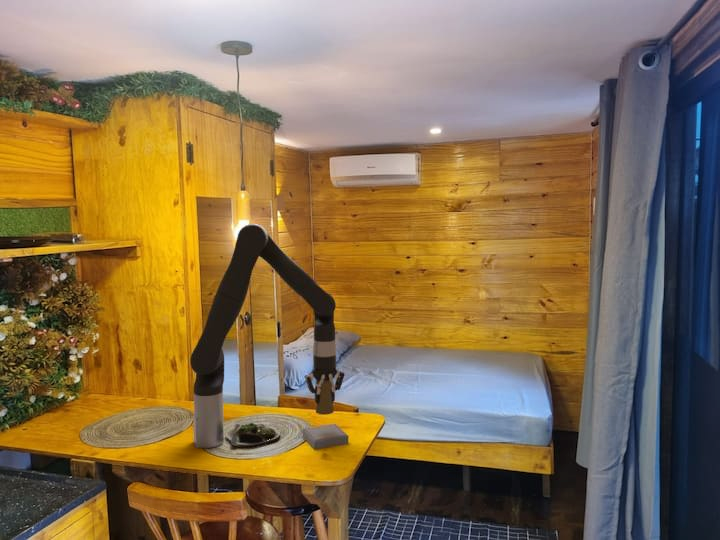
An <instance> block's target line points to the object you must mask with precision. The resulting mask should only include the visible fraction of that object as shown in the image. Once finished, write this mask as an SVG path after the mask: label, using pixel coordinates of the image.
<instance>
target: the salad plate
mask: <svg viewBox="0 0 720 540" xmlns="http://www.w3.org/2000/svg"><path fill="white" fill-rule="evenodd" d="M257 430H260V431H257ZM225 437H226V439H227V440H228V441H229V442H230V444H231V445H232V446H235V447H237V448H240V447H241V449H253V448H252V447H255V448H259V447H258V446H260V447H263V446H262V445H264V446H266V445H265V444H268V445H270V444H269V443H271V444H273V443H276V442H277V441H278V440H279V439H280V438H281V432H280V431H278V430H277V429H275V428H273V427H272V426H271V425H269V424H265V423H256V424H255V423H254V422H250V423H246V424H245V423H244V422H243V423H242V424H240V423H236V424H234V427H233V429H230V430H228V431H227V432H226V433H225ZM269 439H270V440H269ZM267 440H269V441H267ZM275 441H276V442H275Z"/></svg>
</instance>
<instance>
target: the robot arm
mask: <svg viewBox="0 0 720 540" xmlns="http://www.w3.org/2000/svg"><path fill="white" fill-rule="evenodd" d="M259 258H261V259H262V260H263V261H264V262H266V263H267V264H269V266H270V267H271V268H272V269H274V271H275V272H276V273H277V275H278V276H279V277H280V278H281V279H282V281H284V283H285V284H287V286H289V287H290V288H291V289H292V291H294V293H296V294H297V295H299V297H301V298H303V300H304V301H305V302H306V303H307V305H308V306H310V307H311V309H313V319H314V325H313V326H314V327H313V346H312V349H313V350H312V356H313V361H312V363H313V364H312V365H313V370H312V372H311V373H310V374H309V375H308V374H305V375H304V379H305V382H306V385H307V389H308V391H310V393H312V394H314V403H315V404H316V405H317V404H318V405H319V401H320V391H321V390H320V387H321V384H322V382H323V381H324V380H329V381H330V382H331V383H332V388H331V396H332V403H333V404H334V402H335V400H336V399H335V398H336V394H335V393H336V392H337V391H340V390H341V388H342V385H343V381H344V378H345V373H344V371H341V370H339V371H338V370H337V344H336V326H335V322H334V321H335V310H336V308H337V305H336V301H335V300H336V299H334V297H333V296H332V294H330V293H328V292H326V290H324V289H323V287H321V286H320V285H319V284H318V283H317V282H316V281H315V279H314V278H312V276H310V275H309V274H308V273H307V271H305V270H304V269H303V268H302V267H301V266H300V265H299V264H298V263H296V262H295V261H294V259H292V258H291V257H289V256H288V255H287V254H286V253H285V252H284V251H283V250H282V248H280V246H278V244H277V243H276V242H275V241H274V239H273V238H272V237H271V236H270V234H269V233H268V231H267V229H265V227H264V226H263V225H260V223H259V224H258V223H249V224H247V225H246V224H245V225H244V226H242V228H241V229H240V230H239V231H238V234H237V238H236V242H235V246H234V249H233V252H232V257H231V260H230V262H229V265H228V267H227V269H226V271H225V273H224V274H223V277H222V279H221V281H220V283H219V285H218V288H217V290H216V293H215V296H214V297H213V300H212V304H211V306H210V310H209V312H208V316H207V319H206V322H205V325H204V329H203V331H202V333H201V335H200V338H199V339H198V342H197V343H196V345H195V347H194V349H193V351H192V353H191V354H190V357H189V358H190V362H189V363H190V367H191V369H192V371H193V372H194V373H196V376H195V381H194V384H193V411H194V412H193V414H192V415H193V418H192V419H193V421H192V422H193V443H194V446H195V449H198V448H199V449H200V448H202V449H206V448H208V449H209V448H215V447H219V446H220V445H222V444H224V440H225V439H224V438H225V437H224V436H225V434H224V394H223V393H224V390H223V389H224V381H225V355H224V354H225V353H224V349H223V347H224V346H223V345H224V342H225V340H226V337H227V335H228V334H229V332H230V330H231V329H232V327H233V325H234V324H235V322H236V321H237V319H238V316H239V314H241V313H240V312H241V310H242V308H243V306H244V302H245V300H246V297H247V295H248V291H249V288H250V282H251V278H252V272H253V270H254V268H255V266H256V263H257V261H258V259H259ZM335 377H336V380H335V381H334V379H335ZM313 378H314V379H315V387H314V384H313V381H314V379H313ZM317 382H318V383H319V384H317Z"/></svg>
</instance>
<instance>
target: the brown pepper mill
mask: <svg viewBox="0 0 720 540" xmlns="http://www.w3.org/2000/svg"><path fill="white" fill-rule="evenodd" d="M317 384H319V383H318V382H317ZM331 388H332V383H331V382H330V381H329V380H324V381H323V382H322V384H321V387H320V390H321V391H320V401H319V405H318V404H317V403H316V406H315V413H316V414H318V415H323V416H324V415H330V414H333V413H334V412H335V411H334V409H335V408H334V402H333V403H332V396H331Z"/></svg>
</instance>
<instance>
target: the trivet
mask: <svg viewBox="0 0 720 540" xmlns="http://www.w3.org/2000/svg"><path fill="white" fill-rule="evenodd" d="M301 431H302V435H303V436H304V437H303V436H302V437H303V438H304V440H305V441H306V442H307V443H308V444H309V445H310V447H312V448H313V450H318V449H325V448H329V447H335V446H340V445H341V446H342V445H346V444H349V435H348V434H347V433H346V432H345V431H344V430H343V429H342V428H340V427H339V426H338V425H337V424H336V423H331V424H325V425H319V426H312V427H306V428H302V430H301Z"/></svg>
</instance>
